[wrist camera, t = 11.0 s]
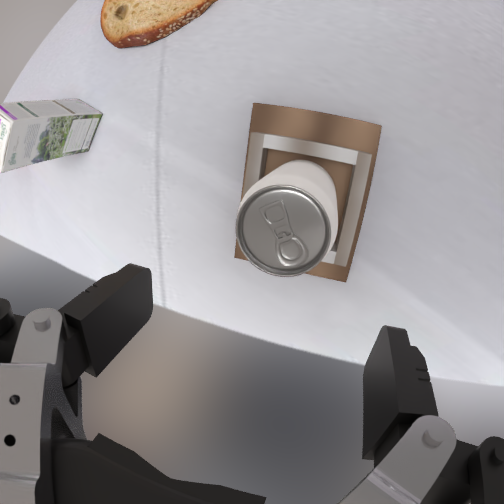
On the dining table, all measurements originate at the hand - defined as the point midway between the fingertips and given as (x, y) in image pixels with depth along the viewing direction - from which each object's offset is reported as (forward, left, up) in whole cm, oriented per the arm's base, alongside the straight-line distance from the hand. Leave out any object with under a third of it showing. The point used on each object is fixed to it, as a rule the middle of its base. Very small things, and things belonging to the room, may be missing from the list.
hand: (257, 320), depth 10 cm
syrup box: (+29, -5, -22) cm, 37 cm away
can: (+1, 0, -21) cm, 21 cm away
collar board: (0, 0, -22) cm, 22 cm away
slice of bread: (+18, -23, -23) cm, 37 cm away
